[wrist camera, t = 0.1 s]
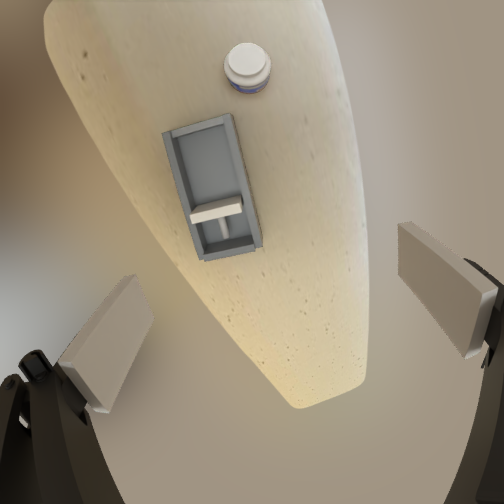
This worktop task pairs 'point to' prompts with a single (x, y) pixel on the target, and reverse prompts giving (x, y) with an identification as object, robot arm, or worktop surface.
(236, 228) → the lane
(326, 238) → the worktop surface
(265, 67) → the pill bottle
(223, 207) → the pusher
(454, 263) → the robot arm
